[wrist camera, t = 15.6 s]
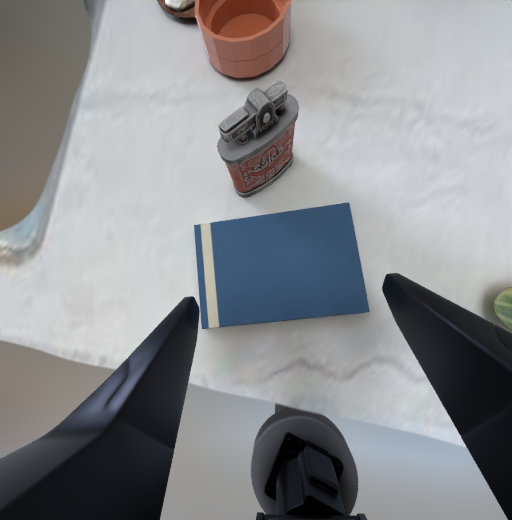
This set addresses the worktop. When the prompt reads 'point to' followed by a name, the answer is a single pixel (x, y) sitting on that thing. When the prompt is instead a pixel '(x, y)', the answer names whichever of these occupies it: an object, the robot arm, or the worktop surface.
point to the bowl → (244, 34)
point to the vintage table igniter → (259, 138)
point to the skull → (179, 7)
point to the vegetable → (504, 307)
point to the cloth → (279, 267)
